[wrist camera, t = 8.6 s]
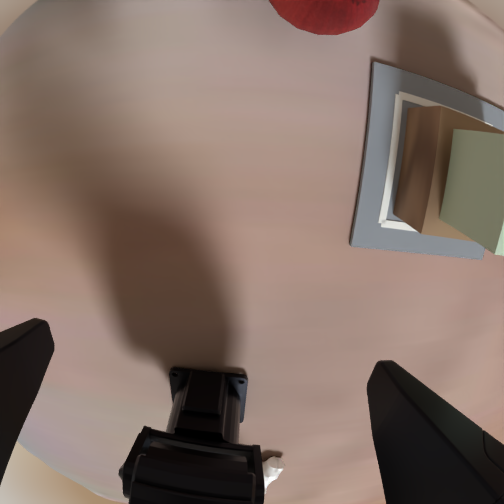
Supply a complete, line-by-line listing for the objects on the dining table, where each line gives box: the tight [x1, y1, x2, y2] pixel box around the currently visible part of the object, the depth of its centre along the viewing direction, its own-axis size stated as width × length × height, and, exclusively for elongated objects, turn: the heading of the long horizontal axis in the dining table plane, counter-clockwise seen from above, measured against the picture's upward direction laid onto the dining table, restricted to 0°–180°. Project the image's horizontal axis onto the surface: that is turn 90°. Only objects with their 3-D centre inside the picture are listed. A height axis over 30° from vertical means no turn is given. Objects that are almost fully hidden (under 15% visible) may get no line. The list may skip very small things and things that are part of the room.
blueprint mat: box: [349, 62, 504, 260], centre depth 17 cm, size 12×12×1 cm
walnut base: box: [393, 106, 504, 242], centre depth 15 cm, size 7×7×4 cm
